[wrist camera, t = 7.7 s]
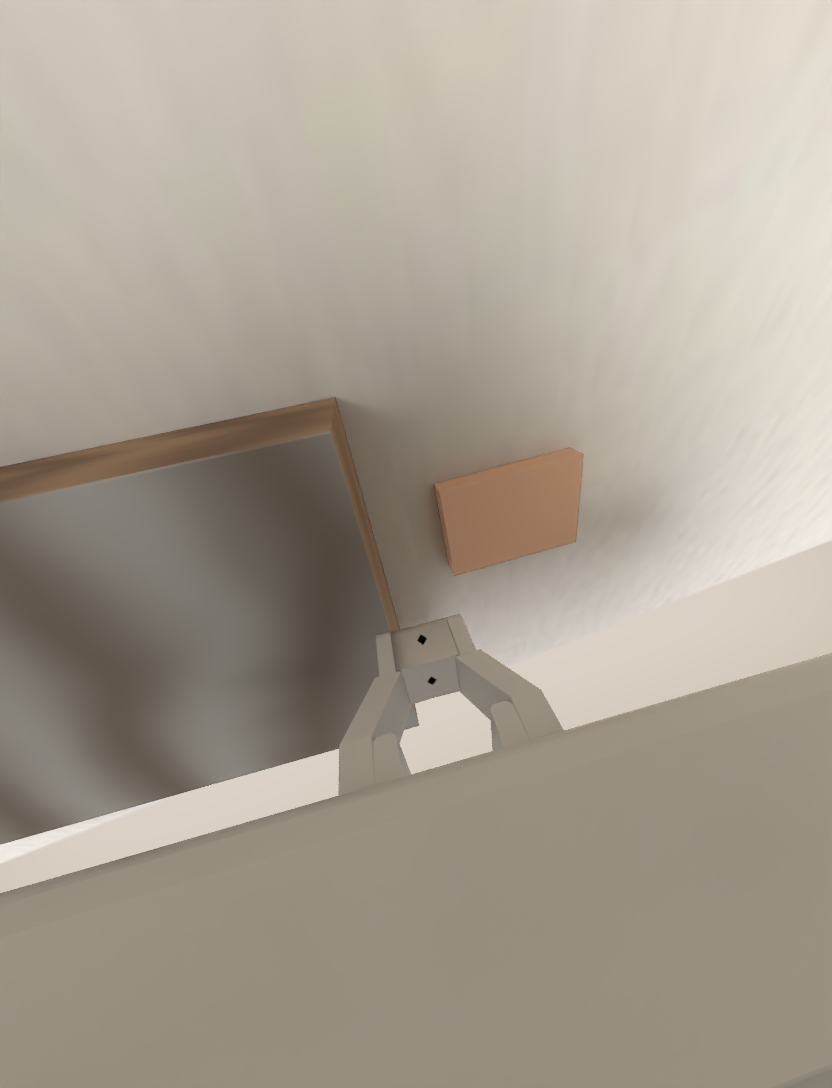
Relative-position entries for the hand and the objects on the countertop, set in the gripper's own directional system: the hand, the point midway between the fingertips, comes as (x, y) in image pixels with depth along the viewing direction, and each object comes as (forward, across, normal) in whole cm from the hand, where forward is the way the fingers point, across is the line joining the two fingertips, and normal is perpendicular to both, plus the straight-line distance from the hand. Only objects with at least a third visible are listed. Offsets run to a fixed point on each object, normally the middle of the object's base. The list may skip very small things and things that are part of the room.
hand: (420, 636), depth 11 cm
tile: (+6, -6, 0) cm, 8 cm away
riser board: (+7, +11, 0) cm, 13 cm away
